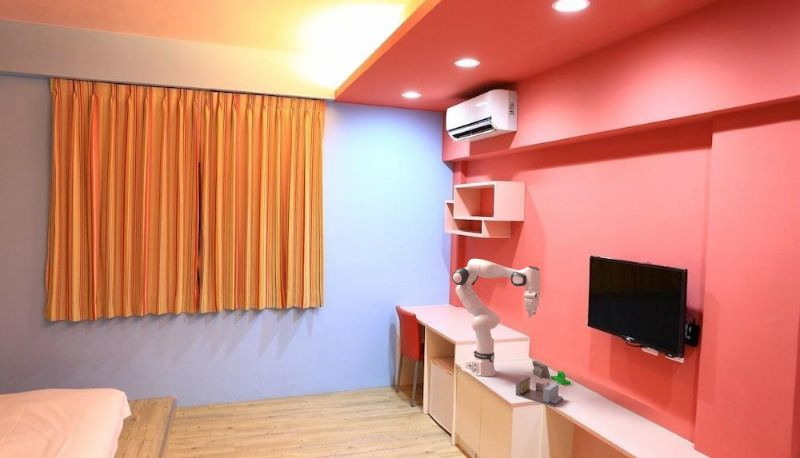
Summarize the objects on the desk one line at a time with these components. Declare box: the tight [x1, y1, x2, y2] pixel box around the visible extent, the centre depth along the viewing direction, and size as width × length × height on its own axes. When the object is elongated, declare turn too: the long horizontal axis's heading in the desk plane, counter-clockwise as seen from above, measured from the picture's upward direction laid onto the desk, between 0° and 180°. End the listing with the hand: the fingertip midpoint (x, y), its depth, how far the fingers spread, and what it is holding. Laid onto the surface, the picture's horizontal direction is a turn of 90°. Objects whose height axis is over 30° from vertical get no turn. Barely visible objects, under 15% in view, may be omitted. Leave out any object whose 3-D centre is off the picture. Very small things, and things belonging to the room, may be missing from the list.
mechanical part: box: [550, 370, 572, 386], centre depth 310 cm, size 12×6×8 cm, turn 17°
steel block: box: [534, 378, 551, 393], centre depth 293 cm, size 5×8×6 cm, turn 139°
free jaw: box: [543, 382, 563, 403], centre depth 276 cm, size 7×13×7 cm, turn 139°
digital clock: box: [532, 359, 551, 380], centre depth 320 cm, size 14×8×9 cm, turn 12°
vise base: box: [515, 376, 564, 408], centre depth 282 cm, size 23×13×8 cm, turn 49°
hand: (532, 316), depth 298 cm, fingers open, 8 cm apart
